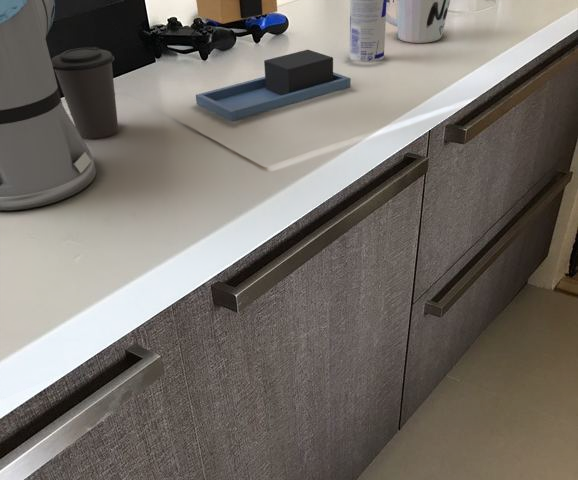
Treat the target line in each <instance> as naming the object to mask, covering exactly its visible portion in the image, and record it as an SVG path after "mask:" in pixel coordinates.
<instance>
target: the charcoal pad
mask: <svg viewBox="0 0 578 480" xmlns="http://www.w3.org/2000/svg"><path fill="white" fill-rule="evenodd" d="M263 63H264V64H263V65H264V77H265V82H266V89H267V90H269V91H272V92H274V93H276V94H279V95H281V96H282V95H285V94H289V93H292V92H296V91H299V90H303V89H307V88H310V87H314V86H317V85H321V84H324V83H328V82H331V81H333V72H334V57H333V56H329V55H327V54H323V53H320V52H317V51H315V50H311V49H304V50H300V51H296V52H292V53H287V54H285V55H280V56H277V57H272V58H269V59H264V61H263Z"/></svg>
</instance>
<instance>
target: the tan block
mask: <svg viewBox="0 0 578 480" xmlns="http://www.w3.org/2000/svg"><path fill="white" fill-rule="evenodd" d="M195 2H196V10H197V16H198V17H201V18H204V19H206V20H210V21H213V22H216V23H219V24H222V25H223V24H228V23H232V22H237V21H241V20H245V19H247V18H245V19H244V18H241V14H240V2H239V0H195ZM277 12H278V0H262V13H263V15H262V16H265V15H269V14H273V13H277ZM259 16H261V15H258V16H257V17H259ZM255 17H256V16H254V17H253V18H255ZM251 18H252V17H249V18H248V19H251Z"/></svg>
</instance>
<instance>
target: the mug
mask: <svg viewBox="0 0 578 480" xmlns="http://www.w3.org/2000/svg"><path fill="white" fill-rule="evenodd" d="M394 1H395V14H396V15H395V16H396V18H395V17H392V16H391V15H390V14H388V13H387V12H386V23H388V24H389V25H392V26H393V27H396V29H397V36H398V39H399V40H401V41H402V42H406V43H411V44H412V43H413V44H426V43H432V42H436V41H438V40H440V39H441V38H442V36H443V33H444V29H445V24H446V20H447V17H448V11H449V7H450V2H451V0H394Z"/></svg>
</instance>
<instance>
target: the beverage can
mask: <svg viewBox="0 0 578 480" xmlns="http://www.w3.org/2000/svg"><path fill="white" fill-rule="evenodd" d="M387 1H388V0H350V7H349V9H350V10H349V60H351V61H353V62H358V63H375V62H380V61H382V60H383V59H384V58H385V47H386V46H385V44H386V41H385V40H386V23H387V21H386V13H387Z"/></svg>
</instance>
